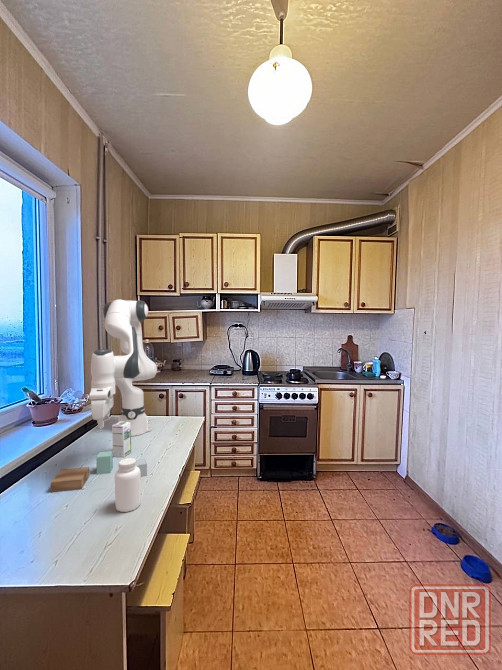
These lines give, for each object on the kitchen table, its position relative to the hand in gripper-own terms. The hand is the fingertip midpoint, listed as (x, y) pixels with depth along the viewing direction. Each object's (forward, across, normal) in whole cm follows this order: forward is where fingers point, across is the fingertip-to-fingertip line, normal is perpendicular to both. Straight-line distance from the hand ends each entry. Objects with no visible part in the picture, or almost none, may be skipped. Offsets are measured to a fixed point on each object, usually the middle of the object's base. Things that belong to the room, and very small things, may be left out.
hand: (104, 424), depth 126 cm
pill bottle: (+20, +27, +13) cm, 36 cm away
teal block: (+19, 0, 0) cm, 19 cm away
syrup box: (+20, -15, +4) cm, 25 cm away
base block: (+20, +8, -10) cm, 24 cm away
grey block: (+20, +6, +14) cm, 25 cm away
